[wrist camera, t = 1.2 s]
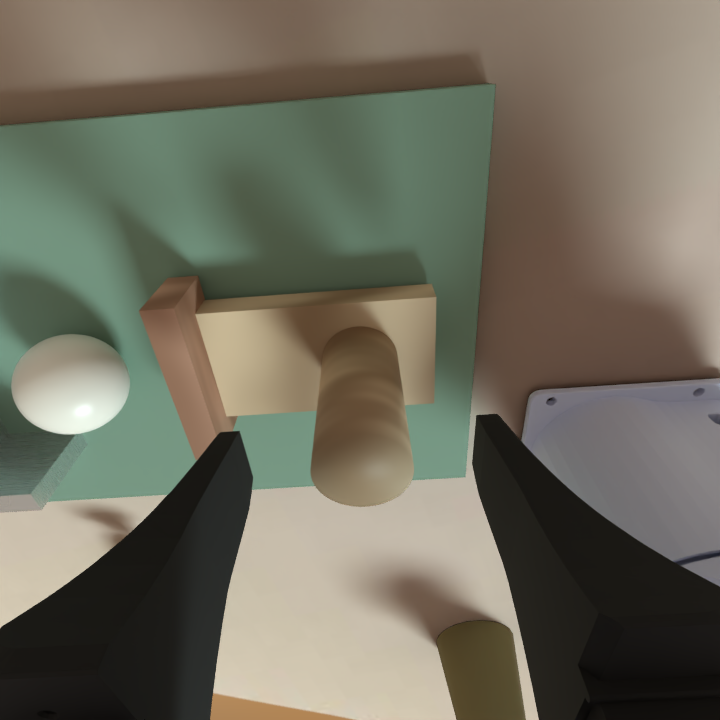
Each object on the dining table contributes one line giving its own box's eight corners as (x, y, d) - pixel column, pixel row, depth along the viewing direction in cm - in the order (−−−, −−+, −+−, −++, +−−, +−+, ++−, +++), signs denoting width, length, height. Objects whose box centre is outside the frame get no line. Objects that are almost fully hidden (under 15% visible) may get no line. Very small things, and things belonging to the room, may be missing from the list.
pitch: (487, 83, 15) (495, 84, 14) (461, 463, 25) (465, 477, 24) (-197, 142, 16) (-227, 146, 15) (39, 488, 26) (28, 502, 25)
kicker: (431, 258, 17) (474, 365, 11) (429, 402, 21) (460, 541, 15) (167, 277, 18) (67, 392, 11) (213, 416, 21) (156, 557, 15)
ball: (126, 312, 19) (76, 367, 15) (157, 390, 21) (119, 452, 18) (31, 319, 19) (-38, 375, 15) (72, 395, 21) (18, 459, 18)
